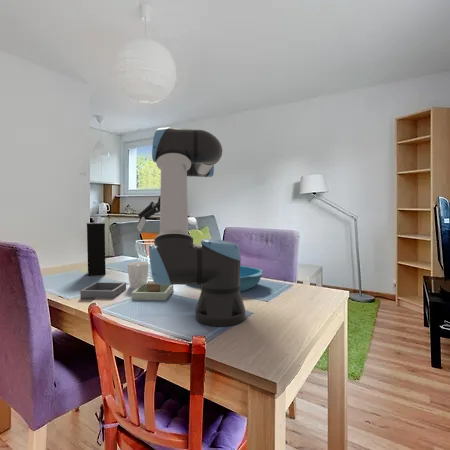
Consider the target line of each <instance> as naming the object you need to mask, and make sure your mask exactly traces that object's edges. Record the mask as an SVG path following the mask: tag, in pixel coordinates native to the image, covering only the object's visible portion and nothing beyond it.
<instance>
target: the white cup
mask: <svg viewBox="0 0 450 450" xmlns="http://www.w3.org/2000/svg"><path fill="white" fill-rule="evenodd" d="M148 271H149V262H147V261H133V262H129V263H127V272H128V282H129V283H128V284H129V288H130V289H134V290H136V289H137V288H138V287H139V286H141V285H142V284H147V282H148V278H149V277H148V275H149V274H148Z"/></svg>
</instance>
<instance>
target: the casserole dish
mask: <svg viewBox="0 0 450 450" xmlns="http://www.w3.org/2000/svg"><path fill="white" fill-rule="evenodd" d="M263 273H264V270H263V269H262V268H261V269H260V268H258V267H251V266H247V265H241V264H240V293H241V292H244V291H246V290H249V289H251V288H254V287H255V286H257V285H258V284H259V282H260V281H261V277H262V276H263Z"/></svg>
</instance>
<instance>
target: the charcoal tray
mask: <svg viewBox="0 0 450 450" xmlns="http://www.w3.org/2000/svg"><path fill="white" fill-rule="evenodd" d="M126 289H127V283H126V282H111V281H110V282H109V281H104V282H103V281H96V282H94V283H92V284H89V285H88V286H87V287H84V288H82V289H80V292H79V293H80V300H95V299H97V298H99V299H115V298H116V297H117V296H118V295H119V294H121V293H122V292H124V291H125V290H126Z"/></svg>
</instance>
